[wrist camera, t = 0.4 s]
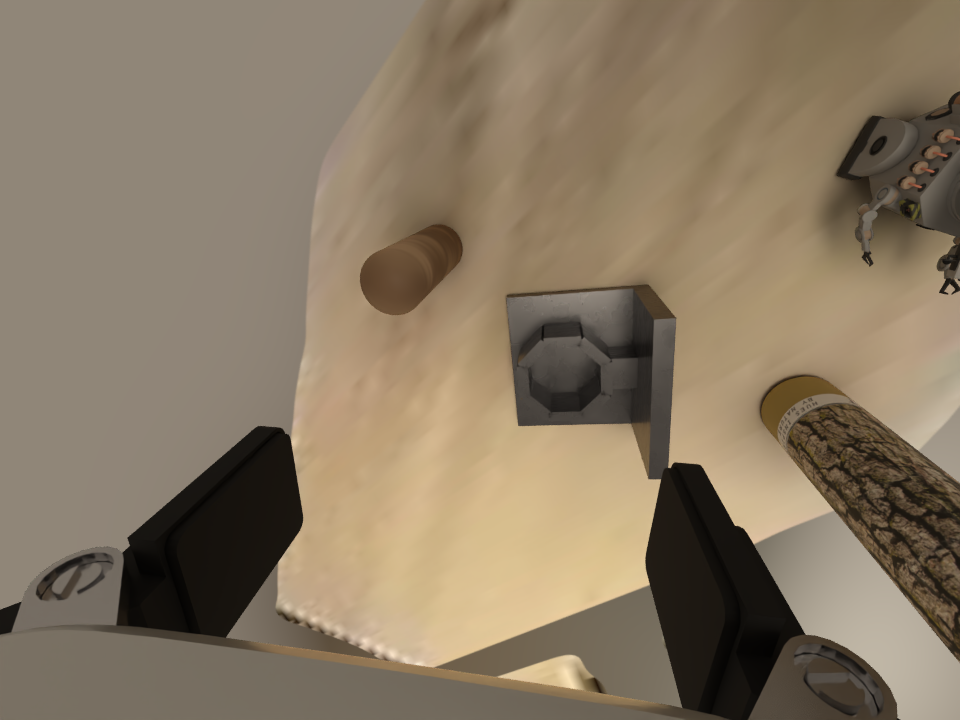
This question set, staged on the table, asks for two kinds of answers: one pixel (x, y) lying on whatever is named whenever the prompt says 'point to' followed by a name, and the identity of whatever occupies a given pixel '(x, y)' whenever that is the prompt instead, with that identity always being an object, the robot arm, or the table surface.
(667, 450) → the bracket
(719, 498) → the robot arm
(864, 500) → the paper tube
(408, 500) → the table surface
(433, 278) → the brown wooden cylinder
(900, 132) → the figurine
